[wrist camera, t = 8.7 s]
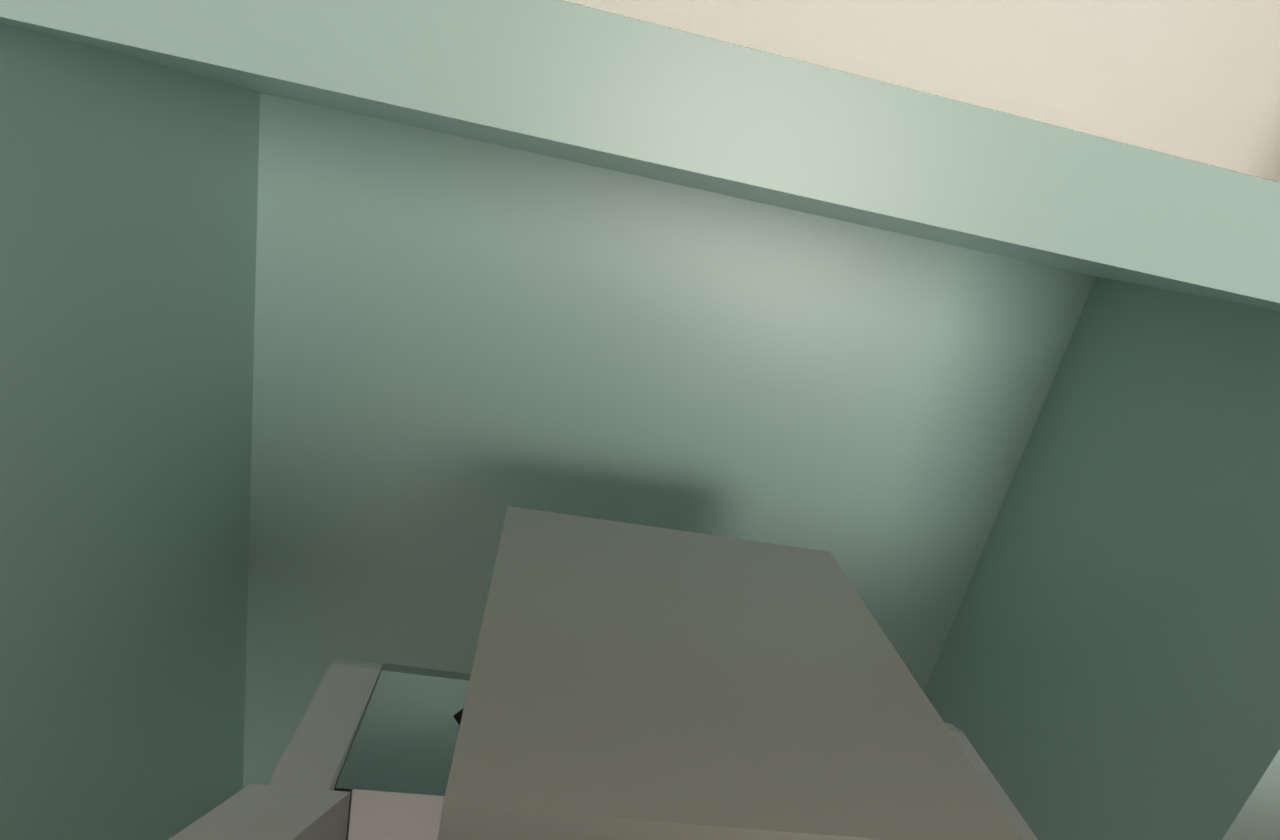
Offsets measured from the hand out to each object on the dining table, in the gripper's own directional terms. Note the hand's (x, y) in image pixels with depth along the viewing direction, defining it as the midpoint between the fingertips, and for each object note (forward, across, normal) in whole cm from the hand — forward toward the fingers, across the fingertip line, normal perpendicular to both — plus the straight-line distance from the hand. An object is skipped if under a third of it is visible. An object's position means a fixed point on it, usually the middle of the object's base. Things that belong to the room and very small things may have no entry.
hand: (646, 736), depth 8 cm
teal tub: (+4, 0, 0) cm, 5 cm away
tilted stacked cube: (+1, 0, 0) cm, 1 cm away
